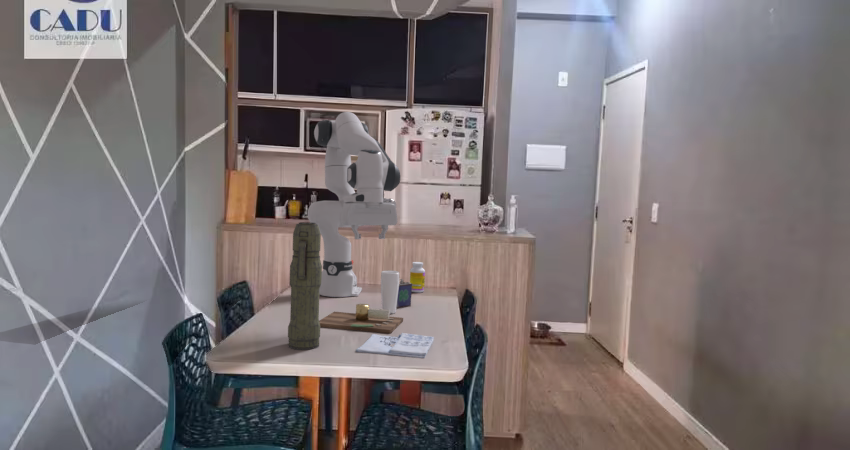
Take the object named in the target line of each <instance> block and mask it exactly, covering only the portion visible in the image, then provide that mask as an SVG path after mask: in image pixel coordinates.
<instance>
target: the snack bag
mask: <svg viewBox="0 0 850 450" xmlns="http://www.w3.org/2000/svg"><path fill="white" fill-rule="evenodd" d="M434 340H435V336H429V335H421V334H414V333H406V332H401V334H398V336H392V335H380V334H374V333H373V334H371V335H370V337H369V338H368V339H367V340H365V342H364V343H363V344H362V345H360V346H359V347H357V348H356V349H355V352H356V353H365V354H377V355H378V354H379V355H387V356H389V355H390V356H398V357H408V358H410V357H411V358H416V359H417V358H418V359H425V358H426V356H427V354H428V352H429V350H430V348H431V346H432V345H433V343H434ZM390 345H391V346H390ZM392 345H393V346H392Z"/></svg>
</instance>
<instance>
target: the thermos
mask: <svg viewBox="0 0 850 450" xmlns="http://www.w3.org/2000/svg"><path fill="white" fill-rule="evenodd" d="M321 238H322V235H321V233H320V229H319V226H318V225H317V224H316V223H310V221H309V222H306V221H305V222H298V223H296V224H295V227H294V230H293V234H292V252H293V253H292V256H291V257H292V259H291V263H290V264H289V265H290V266H289V286H290V313H289V314H290V316H289V317H290V319H289V320H290V321H289V323H288V326H287V338H288V343H287V344H288V348H290V349H293V350H298V351H308V350H309V351H310V350H314V349H317V348H319V347H320V337H321V327H320V322H319V319H320V315H319V313H320V294H319V290H320V286H321V279H322V271H323V270H322V269H323V264H322V261H321V256H320V251H321V240H322V239H321Z"/></svg>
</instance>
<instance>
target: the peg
mask: <svg viewBox="0 0 850 450" xmlns="http://www.w3.org/2000/svg"><path fill="white" fill-rule="evenodd" d="M355 314H356V320H359V321H366V320H369V318H374V319H385V320H389V317H391V316H390V310H385V309H382V308H373V307H372V308H371V307H370V304H369V303H356V304H355Z"/></svg>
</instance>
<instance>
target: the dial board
mask: <svg viewBox="0 0 850 450" xmlns="http://www.w3.org/2000/svg"><path fill="white" fill-rule="evenodd" d="M319 322H320V328H328V329H329V328H330V329H339V330H348V331H349V330H352V331H358V330H359V332H361V331H362V332H371V333H380V334H392V333H393V332H394V331H395V330H396V329H397V328H398V327H399V326H400V325H401V324H402V323H403V322H404V317H399V316H397V317H396V316H390V317H389V320H385V319H374V318H369V320H366V321H359V320H356V312H355V313H354V312H343V311H332V312H331V313H330V314H327V315H326V316H324V317H323V318H321V319H320V320H319Z"/></svg>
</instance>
